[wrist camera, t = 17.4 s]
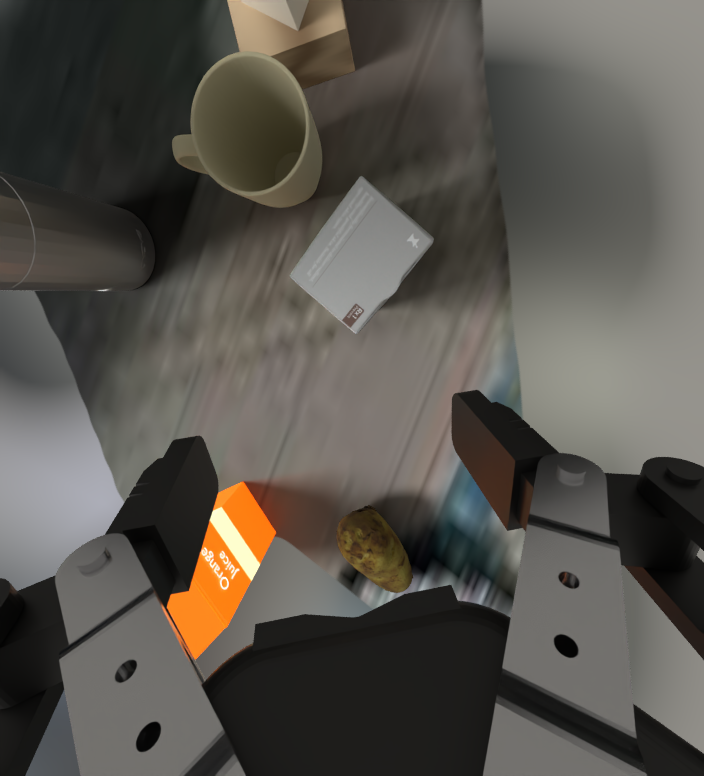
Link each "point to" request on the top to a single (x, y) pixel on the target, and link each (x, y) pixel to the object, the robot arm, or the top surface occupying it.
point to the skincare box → (361, 255)
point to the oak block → (299, 40)
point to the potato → (374, 549)
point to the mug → (253, 132)
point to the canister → (281, 10)
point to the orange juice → (222, 568)
